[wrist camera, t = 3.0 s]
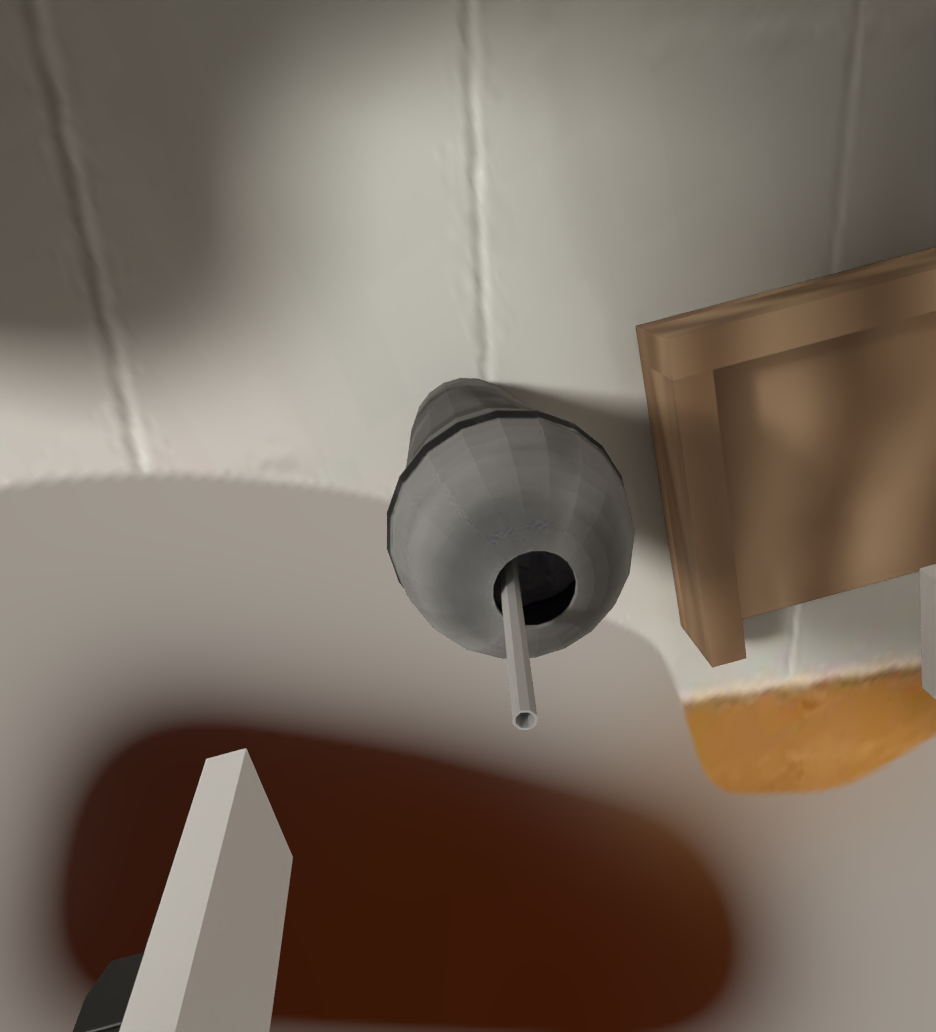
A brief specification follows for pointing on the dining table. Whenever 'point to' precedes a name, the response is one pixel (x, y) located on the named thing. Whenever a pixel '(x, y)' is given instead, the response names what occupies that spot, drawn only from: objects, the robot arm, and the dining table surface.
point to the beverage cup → (508, 529)
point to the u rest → (795, 443)
